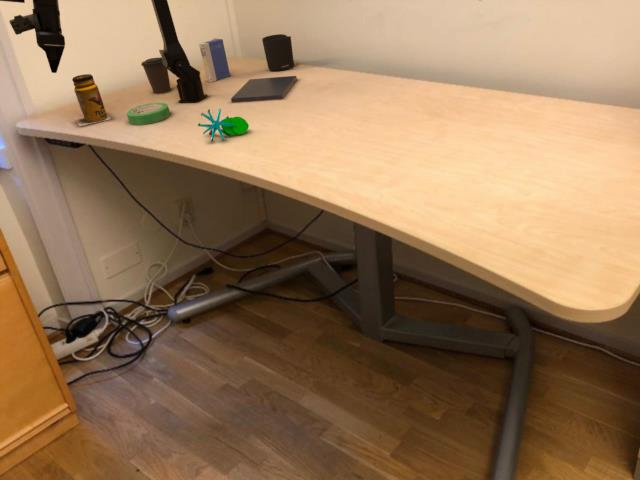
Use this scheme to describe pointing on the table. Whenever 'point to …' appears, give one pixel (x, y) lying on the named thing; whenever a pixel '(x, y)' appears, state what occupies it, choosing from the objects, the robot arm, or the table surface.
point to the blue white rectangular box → (214, 59)
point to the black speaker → (278, 52)
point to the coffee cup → (157, 75)
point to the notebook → (264, 89)
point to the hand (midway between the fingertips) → (53, 69)
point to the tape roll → (148, 113)
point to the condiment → (89, 100)
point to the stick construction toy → (225, 125)
